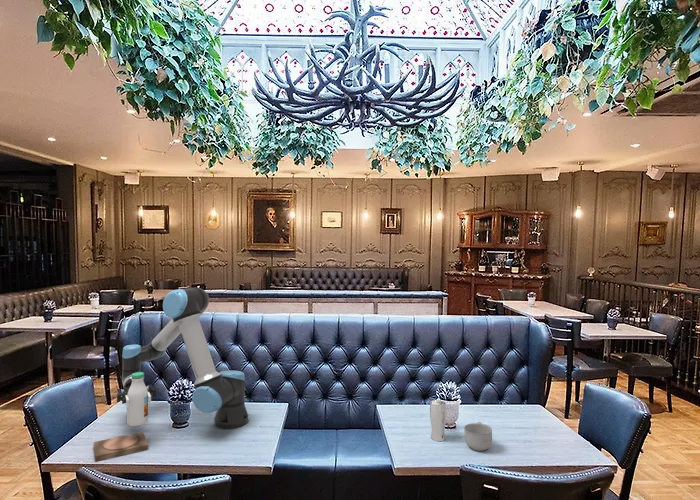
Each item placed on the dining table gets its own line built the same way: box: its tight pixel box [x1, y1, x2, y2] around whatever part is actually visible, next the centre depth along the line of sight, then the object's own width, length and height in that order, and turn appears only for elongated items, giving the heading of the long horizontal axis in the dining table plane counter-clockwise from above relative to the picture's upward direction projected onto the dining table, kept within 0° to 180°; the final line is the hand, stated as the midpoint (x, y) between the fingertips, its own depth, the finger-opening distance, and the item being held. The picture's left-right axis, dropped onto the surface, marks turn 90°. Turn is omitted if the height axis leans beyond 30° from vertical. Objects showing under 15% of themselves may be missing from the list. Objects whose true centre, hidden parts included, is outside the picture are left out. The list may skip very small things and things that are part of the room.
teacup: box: [463, 421, 493, 452], centre depth 173 cm, size 14×11×8 cm
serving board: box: [93, 431, 149, 463], centre depth 169 cm, size 18×14×3 cm
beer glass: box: [429, 399, 448, 442], centre depth 179 cm, size 7×7×15 cm
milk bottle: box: [126, 371, 149, 427], centre depth 173 cm, size 8×8×20 cm
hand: (139, 401), depth 169 cm, fingers closed on milk bottle, 7 cm apart
